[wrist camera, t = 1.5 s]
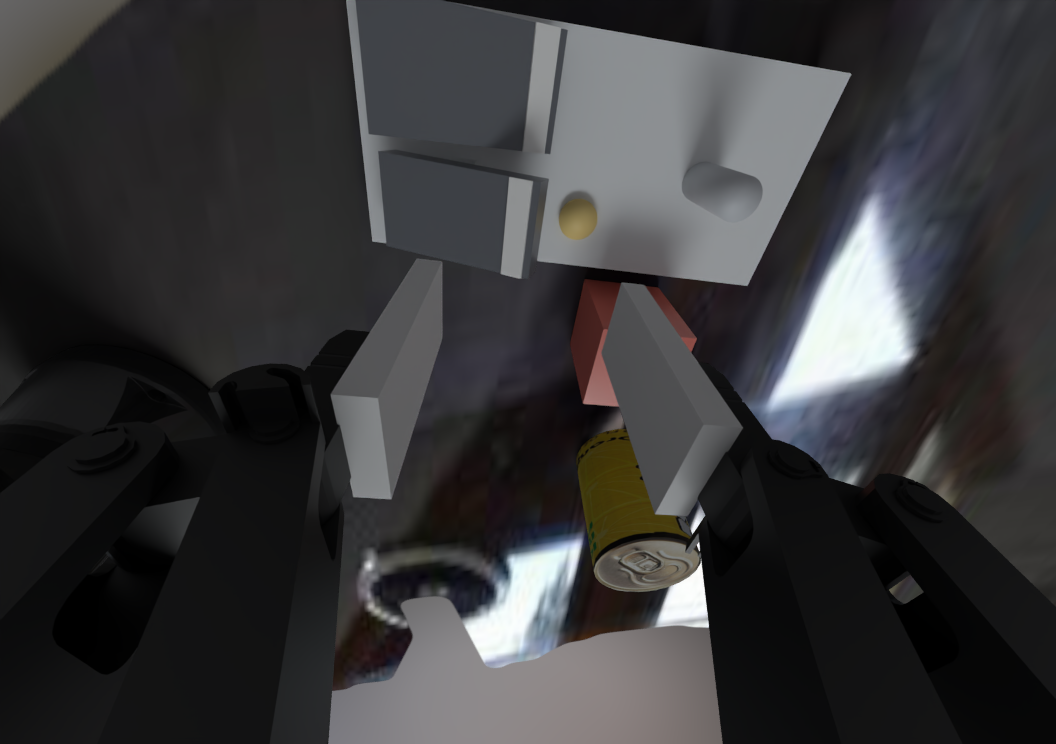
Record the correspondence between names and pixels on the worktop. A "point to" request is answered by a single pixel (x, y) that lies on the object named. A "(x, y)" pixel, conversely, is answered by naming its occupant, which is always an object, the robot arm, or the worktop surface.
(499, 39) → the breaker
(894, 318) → the worktop surface
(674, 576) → the beverage can
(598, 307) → the red rectangular block
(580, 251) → the panel
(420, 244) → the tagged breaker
